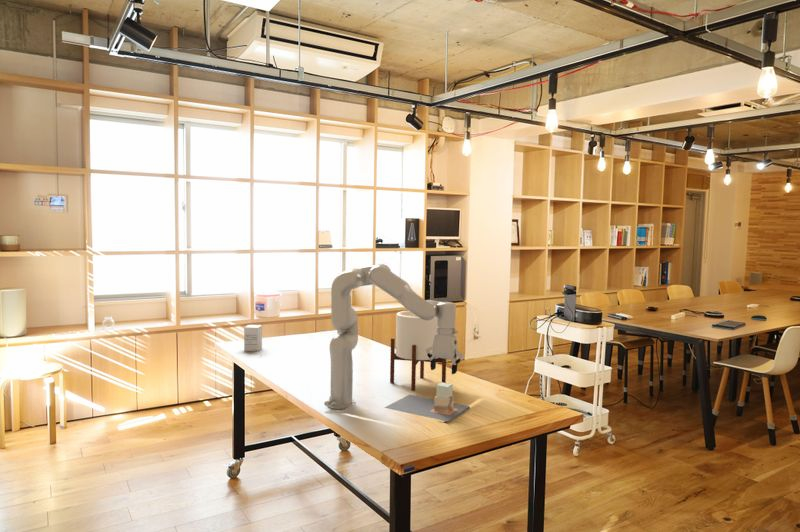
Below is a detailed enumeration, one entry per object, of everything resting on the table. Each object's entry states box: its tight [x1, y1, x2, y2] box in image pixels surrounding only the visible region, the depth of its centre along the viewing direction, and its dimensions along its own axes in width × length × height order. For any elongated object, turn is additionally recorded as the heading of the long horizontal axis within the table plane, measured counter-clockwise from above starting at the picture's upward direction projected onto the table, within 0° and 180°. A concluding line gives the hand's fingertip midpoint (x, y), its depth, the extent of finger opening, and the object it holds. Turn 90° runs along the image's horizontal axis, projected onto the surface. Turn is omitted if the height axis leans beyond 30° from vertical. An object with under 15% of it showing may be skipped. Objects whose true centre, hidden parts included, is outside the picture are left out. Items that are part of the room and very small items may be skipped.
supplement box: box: [243, 324, 263, 352], centre depth 342 cm, size 9×9×15 cm
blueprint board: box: [384, 394, 471, 424], centre depth 235 cm, size 22×30×1 cm
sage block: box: [435, 381, 453, 399], centre depth 231 cm, size 5×5×5 cm
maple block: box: [434, 394, 455, 413], centre depth 231 cm, size 6×6×6 cm
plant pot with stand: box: [389, 310, 447, 392], centre depth 270 cm, size 22×22×36 cm
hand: (443, 371), depth 230 cm, fingers open, 9 cm apart
